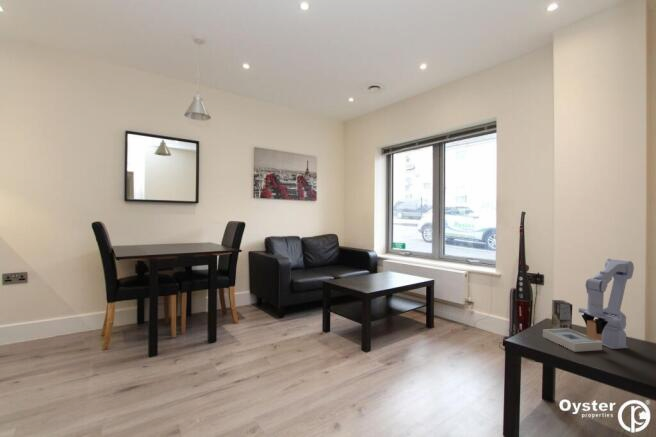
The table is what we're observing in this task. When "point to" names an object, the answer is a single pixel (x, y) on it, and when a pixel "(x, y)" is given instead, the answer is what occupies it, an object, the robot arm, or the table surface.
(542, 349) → the table surface
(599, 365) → the table surface
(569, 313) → the coffee box
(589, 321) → the peg
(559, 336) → the tray
